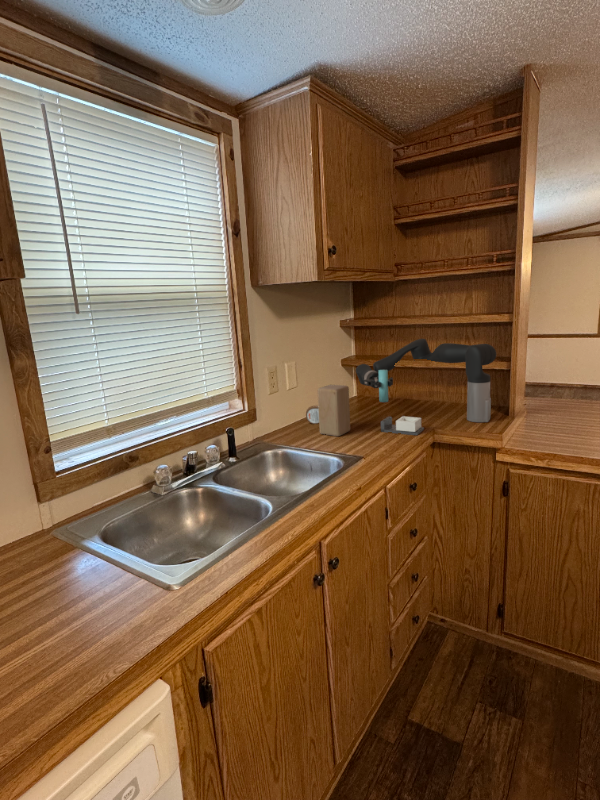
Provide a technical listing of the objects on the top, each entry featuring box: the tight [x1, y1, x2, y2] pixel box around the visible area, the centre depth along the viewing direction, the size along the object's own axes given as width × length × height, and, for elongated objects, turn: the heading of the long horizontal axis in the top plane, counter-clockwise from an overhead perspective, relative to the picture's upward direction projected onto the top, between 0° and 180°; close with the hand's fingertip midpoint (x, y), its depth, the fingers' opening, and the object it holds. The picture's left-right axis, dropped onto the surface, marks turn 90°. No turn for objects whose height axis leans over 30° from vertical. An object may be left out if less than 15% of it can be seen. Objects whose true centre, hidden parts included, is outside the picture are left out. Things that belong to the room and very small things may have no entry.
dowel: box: [378, 370, 389, 403], centre depth 200 cm, size 4×4×14 cm
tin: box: [305, 405, 319, 425], centre depth 208 cm, size 15×3×8 cm, turn 84°
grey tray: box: [380, 416, 425, 436], centre depth 188 cm, size 16×9×4 cm, turn 58°
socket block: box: [395, 415, 422, 432], centre depth 187 cm, size 8×8×4 cm
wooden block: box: [317, 384, 351, 437], centre depth 190 cm, size 10×10×20 cm
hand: (385, 384), depth 198 cm, fingers closed on dowel, 4 cm apart
